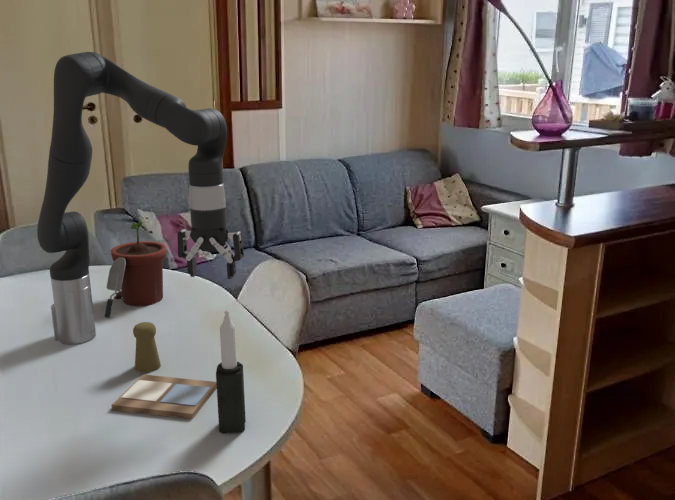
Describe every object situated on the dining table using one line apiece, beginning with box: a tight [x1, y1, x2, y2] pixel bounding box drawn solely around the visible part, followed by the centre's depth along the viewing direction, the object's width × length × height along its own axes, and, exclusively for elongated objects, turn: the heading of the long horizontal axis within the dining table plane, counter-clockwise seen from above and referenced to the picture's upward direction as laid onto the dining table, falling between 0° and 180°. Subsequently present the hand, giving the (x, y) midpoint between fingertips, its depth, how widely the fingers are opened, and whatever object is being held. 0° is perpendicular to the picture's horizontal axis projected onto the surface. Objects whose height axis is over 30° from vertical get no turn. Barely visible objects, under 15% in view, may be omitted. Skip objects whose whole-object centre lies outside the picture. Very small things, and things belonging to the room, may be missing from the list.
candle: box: [215, 309, 247, 434], centre depth 133 cm, size 5×5×25 cm
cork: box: [132, 321, 162, 374], centre depth 161 cm, size 6×6×11 cm
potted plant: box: [104, 220, 167, 318], centre depth 200 cm, size 18×22×25 cm
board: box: [111, 374, 217, 420], centre depth 148 cm, size 18×14×1 cm
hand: (212, 277), depth 150 cm, fingers open, 8 cm apart
